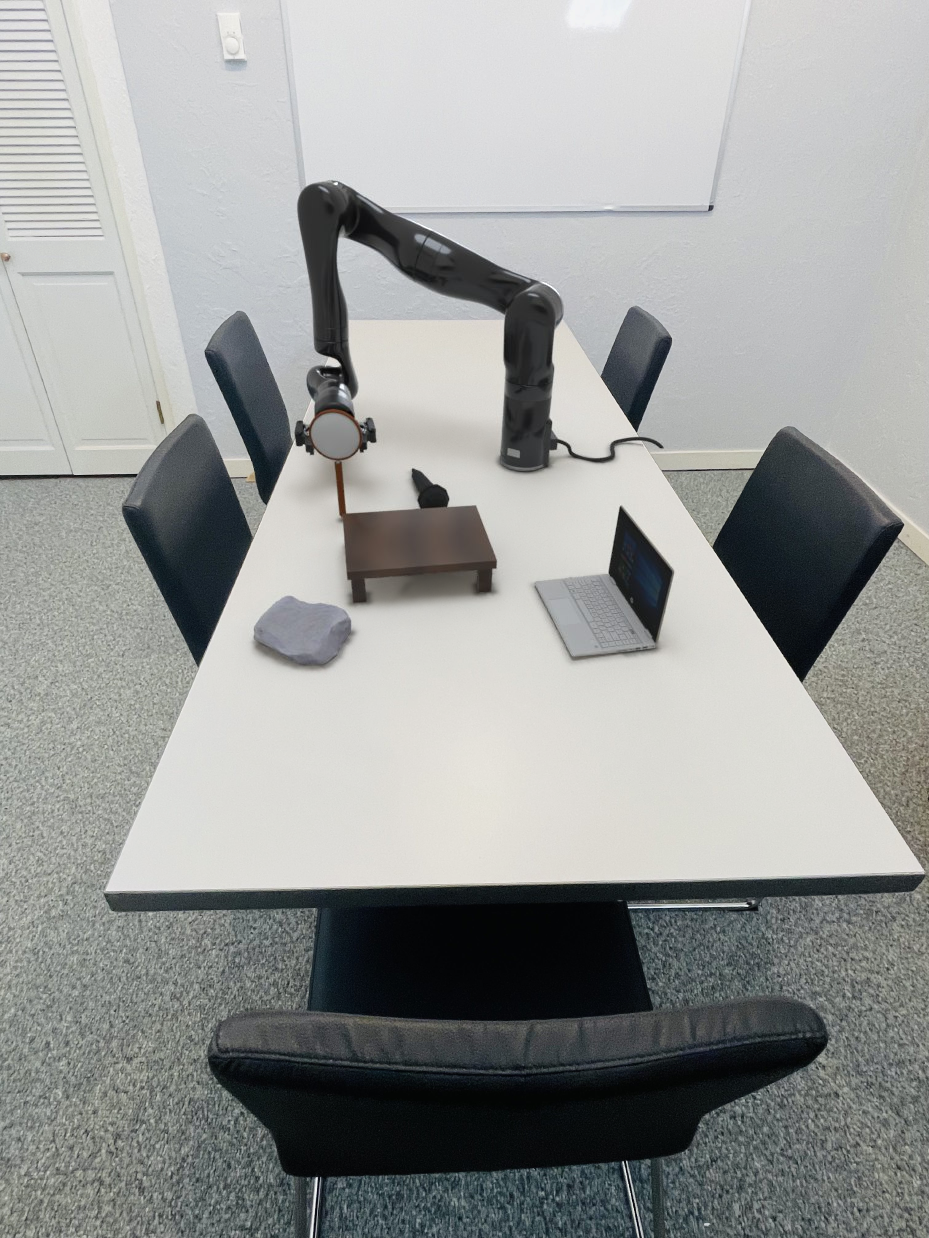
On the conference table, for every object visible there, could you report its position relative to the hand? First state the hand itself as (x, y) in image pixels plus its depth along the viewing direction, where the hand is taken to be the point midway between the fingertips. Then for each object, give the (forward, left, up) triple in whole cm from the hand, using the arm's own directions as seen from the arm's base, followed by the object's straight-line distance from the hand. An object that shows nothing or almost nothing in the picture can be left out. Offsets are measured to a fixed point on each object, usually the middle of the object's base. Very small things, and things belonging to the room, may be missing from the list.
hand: (336, 448), depth 123 cm
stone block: (+7, +38, -11) cm, 40 cm away
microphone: (-16, -2, -11) cm, 20 cm away
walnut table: (-11, +22, -11) cm, 27 cm away
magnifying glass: (0, +5, -11) cm, 12 cm away
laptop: (-35, +38, -11) cm, 53 cm away
